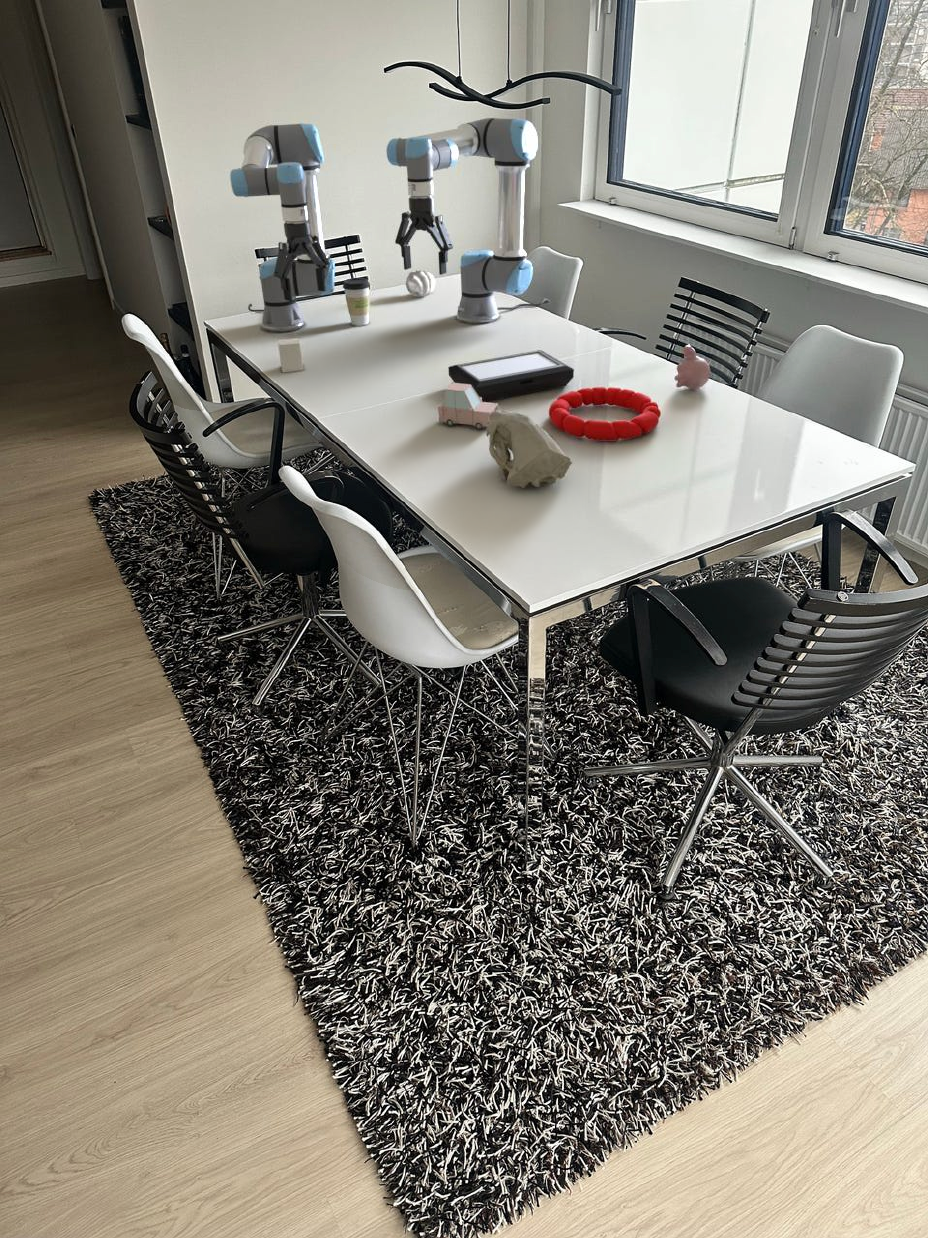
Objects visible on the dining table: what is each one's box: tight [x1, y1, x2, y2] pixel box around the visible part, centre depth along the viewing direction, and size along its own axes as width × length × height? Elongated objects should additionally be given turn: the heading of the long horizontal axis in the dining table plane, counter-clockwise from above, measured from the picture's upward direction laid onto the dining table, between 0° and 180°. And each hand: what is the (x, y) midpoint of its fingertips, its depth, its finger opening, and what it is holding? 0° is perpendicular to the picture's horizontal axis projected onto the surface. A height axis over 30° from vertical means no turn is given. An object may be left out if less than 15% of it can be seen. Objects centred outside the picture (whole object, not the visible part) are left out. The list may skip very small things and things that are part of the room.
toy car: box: [437, 382, 499, 431], centre depth 243 cm, size 9×15×10 cm, turn 70°
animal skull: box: [485, 409, 573, 489], centre depth 216 cm, size 17×25×20 cm
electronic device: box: [448, 349, 575, 402], centre depth 267 cm, size 32×6×20 cm
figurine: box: [674, 344, 711, 390], centre depth 259 cm, size 9×11×12 cm
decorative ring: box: [548, 386, 661, 442], centre depth 242 cm, size 7×30×30 cm
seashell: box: [405, 270, 436, 298], centre depth 352 cm, size 10×15×10 cm
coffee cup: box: [342, 277, 371, 327], centre depth 323 cm, size 10×10×15 cm
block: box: [277, 337, 304, 373], centre depth 285 cm, size 6×6×9 cm
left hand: (305, 295), depth 275 cm, fingers open, 13 cm apart
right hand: (425, 271), depth 275 cm, fingers open, 13 cm apart
